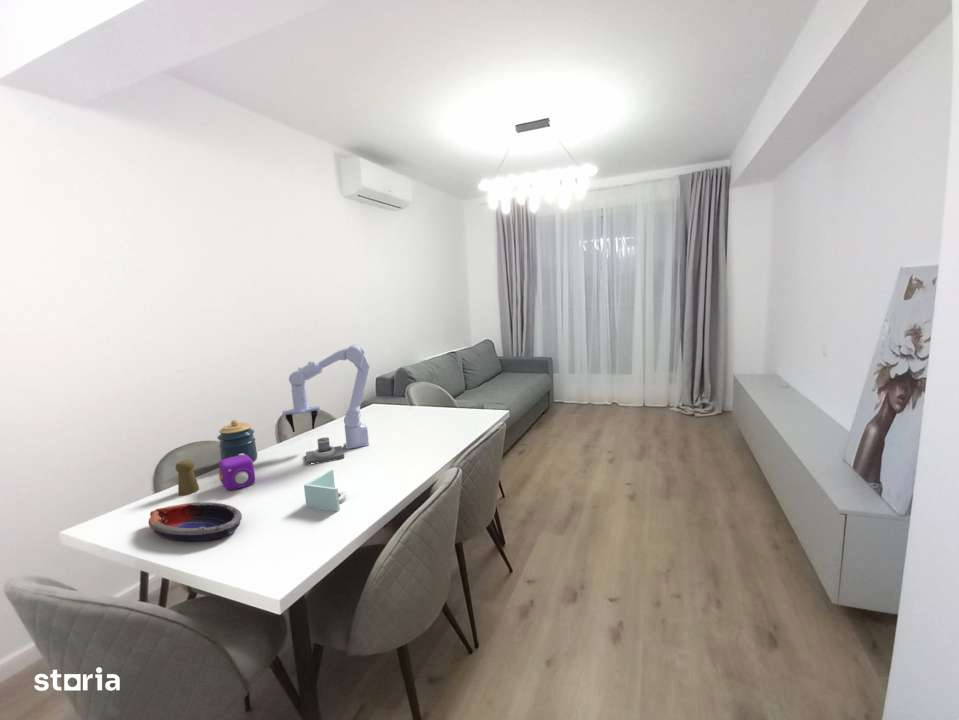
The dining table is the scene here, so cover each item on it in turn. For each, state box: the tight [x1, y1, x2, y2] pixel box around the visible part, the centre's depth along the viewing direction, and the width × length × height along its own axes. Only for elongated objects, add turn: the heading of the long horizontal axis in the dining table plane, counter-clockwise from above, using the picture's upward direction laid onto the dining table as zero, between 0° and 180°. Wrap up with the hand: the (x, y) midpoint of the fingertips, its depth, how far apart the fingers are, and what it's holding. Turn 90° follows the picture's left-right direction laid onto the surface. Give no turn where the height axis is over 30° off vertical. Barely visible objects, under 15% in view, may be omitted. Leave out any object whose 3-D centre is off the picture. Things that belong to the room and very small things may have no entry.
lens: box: [316, 437, 331, 452], centre depth 169 cm, size 4×4×6 cm
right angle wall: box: [303, 469, 347, 512], centre depth 130 cm, size 12×12×8 cm
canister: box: [217, 419, 258, 463], centre depth 167 cm, size 13×13×18 cm
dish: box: [148, 501, 243, 542], centre depth 117 cm, size 16×31×5 cm, turn 70°
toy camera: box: [218, 453, 256, 491], centre depth 144 cm, size 11×14×10 cm
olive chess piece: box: [175, 459, 200, 497], centre depth 142 cm, size 6×6×11 cm
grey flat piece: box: [305, 445, 345, 465], centre depth 169 cm, size 14×12×3 cm
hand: (303, 429), depth 176 cm, fingers open, 7 cm apart
